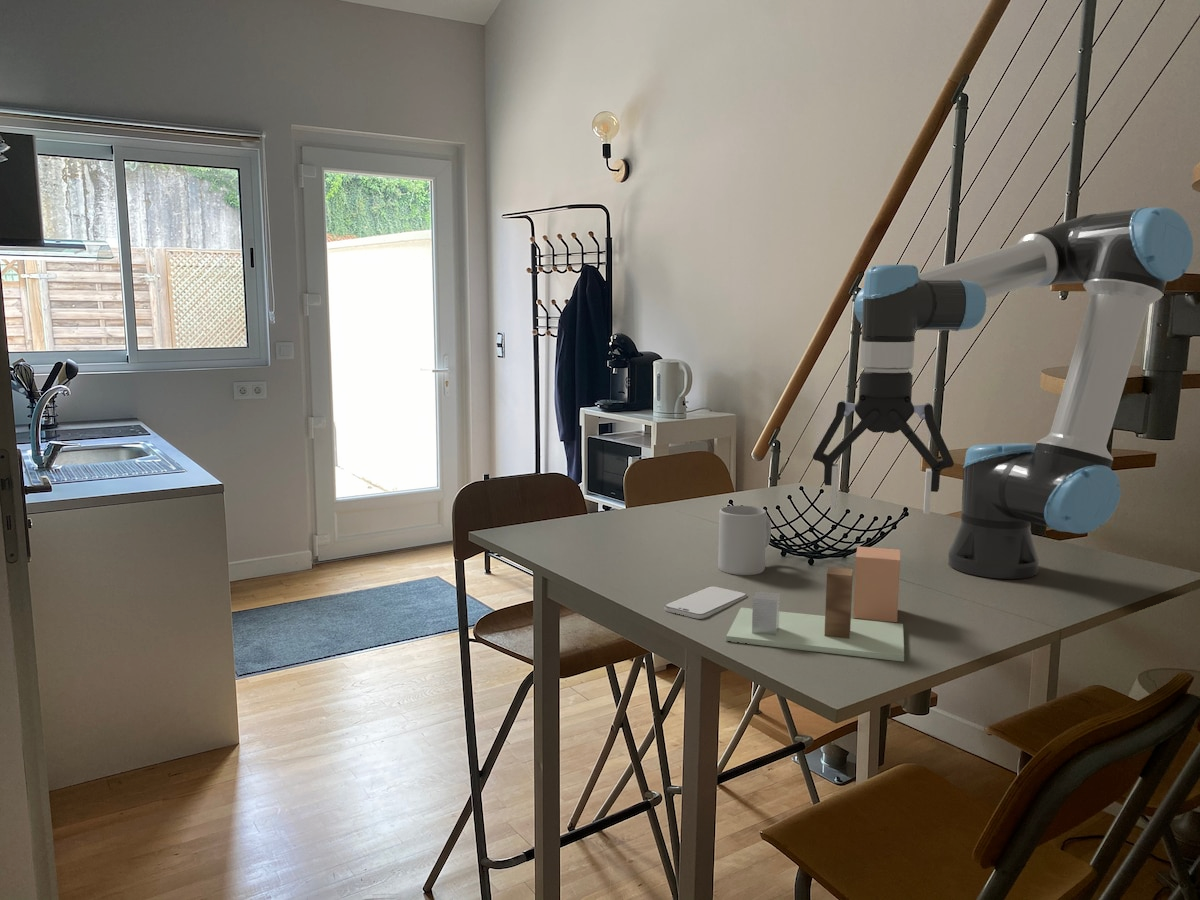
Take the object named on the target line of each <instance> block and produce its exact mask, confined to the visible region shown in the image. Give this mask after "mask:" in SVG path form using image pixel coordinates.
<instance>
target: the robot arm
mask: <svg viewBox="0 0 1200 900" xmlns="http://www.w3.org/2000/svg"><path fill="white" fill-rule="evenodd" d="M1192 234H1193V233H1192V231H1191V230H1190V228H1189V224H1188V222H1187V220H1186V219H1185V217H1183V215H1181V214H1180V212H1178V211H1177V210H1175V209H1172V208H1170V207H1164V206H1163V207H1161V206H1158V207H1147V206H1146V207H1144V206H1143V207H1139V208H1137V209H1128V210H1121V211H1120V210H1119V211H1111V212H1105V213H1103V212H1102V213H1095V214H1094V213H1093V214H1092V213H1091V214H1087V215H1083V216H1079V217H1075V218H1072V219H1070V220H1067V221H1063V222H1061V223H1058V224H1055V225H1052V226H1050V227H1047V228H1044V229H1042V230H1039V231H1036V232H1032V233H1029V234H1026V235H1024V236H1022V237H1021V238H1020V239H1019V240H1018V241H1017V243H1016V244H1013V245H1009V246H1005V247H1002V248H999V249H996V250H993V251H989V252H986V253H982V254H979V255H976V256H973V257H970V258H966V259H962V260H959V261H957V262H952V263H949V264H946V265H942V266H940V267H936V268H933V269H930V270H926V271H922V272H919V268H918V267H917V266H916V265H914V264H913V265H912V264H911V265H910V264H879V265H873V266H871V267H869V268H868V269H867V270H866V271H865V277H864V283H863V284H864V285H863V287H862V288H861V289H860V290H859V291H858V293H857V294H856V296H855V300H854V304H853V305H854V306H853V308H854V314H855V315H854V316H855V317H856V319H857V321H858V323H860V325H861V326H862V327H861V329H862V330H861V343H860V362H859V363H860V364H859V365H860V367H861V368H862V369H864V370H863V371H861V373H859V386H858V387H859V389H858V399H857V402H856V403H852V402H848V401H847V402H846V401H845V400H840V401H839V402H838V403H837V405H836V412H835V416H834V418H833V420H832V421H831V423H830V425H829V427H828V429H827V430H826V432H825V433H824V435H823V437H822V439H821V441H820V442H819V444H818V446H817V448H816V449H815V452H814V453H813V455H812V459H813V460H814V461H816V462H817V461H818V462H820V463H822V464H823V465H824V467H823V468H824V473H823V483H824V485H825V486H830V509H836V508H837V505H838V503H837V501H838V500H837V498H838V478H839V477H838V475H839V474H838V473H839V463H834V462H835V461H836V460H837V459H838V458H839V457H840V456H841V455H842V454H843V453H844V452H845V451H846V450H847V449H848V448H849V447H850V446H851V445H852V444H853V443H854V442H855V441H856V440H857V439H858V438H859V437H860V436H861V435H862V434H863V433H864V432H865V431H866V430H868V431H870V432H872V433H882V432H883V433H887V434H894V433H897V432H899V431H900V432H901V433H902V435H904V437H906V439H907V440H908V441H909V442H910V444H912V446H913V447H914V448H915V449H916V451H917V452H918V453H919V455H920V456H921V458H923V460H925V462H926V463H927V465H929V467H930V468H925V481H924V497H923V499H924V500H923V515H930V512H931V511H930V510H931V498H932V497H931V493H933V492H935V493H937V492H939V490H940V479H941V471H943V470H945V469H947V468H952V467H954V464H955V462H954V459H953V458H952V455H951V454H950V451H949V449H948V446H947V445H946V443H945V441H944V440H945V439H944V438H943V436H942V434H941V432H940V429H939V427H938V426H937V423H936V420H935V417H934V408H933V405H932V403H930V402H929V403H928V402H927V403H925V404H920V405H919V404H918V405H914V404H913V402H912V395H913V394H912V393H913V392H912V391H913V376H914V375H913V374H912V372H910V370H911V369H913V368H914V357H915V356H914V355H915V342H916V339H915V337H916V331H955V332H959V331H964V330H971V329H973V328H975V327H976V326H978V325H979V324H980V322H981V321H982V320H983V318H984V317H985V315H986V312H987V308H986V307H987V300H988V299H991V298H995V297H997V296H1000V295H1003V294H1005V293H1010V292H1013V291H1016V290H1019V289H1021V288H1025V287H1026V288H1027V287H1030V288H1033V289H1041V288H1044V287H1047V286H1051V285H1059V284H1061V285H1062V284H1083V285H1082V286H1083V288H1084V289H1085V291H1086V292H1087V294H1088V295H1089V300H1088V303H1087V307H1086V309H1085V312H1084V313H1085V314H1084V316H1083V319H1082V323H1081V327H1080V330H1079V333H1078V337H1077V340H1076V342H1075V343H1076V344H1075V347H1074V351H1073V353H1072V357H1071V361H1070V364H1069V367H1068V371H1067V374H1066V378H1065V381H1064V384H1063V387H1062V390H1061V394H1060V397H1059V401H1058V404H1057V408H1056V411H1055V413H1054V419H1053V421H1052V424H1051V425H1052V426H1051V428H1050V432H1049V434H1047V435H1046V436H1045V437H1042V438H1041V439H1039V440H1037V441H1036V444H1034V443H1027V442H1026V443H1025V442H1024V443H1023V442H1021V443H1019V442H1017V443H1014V442H1013V443H989V444H988V443H987V444H986V443H984V444H983V443H982V444H974V445H971V446H970V447H969V448H968V449H967V450H966V452H965V459H964V465H963V467H962V468H963V470H962V471H963V473H962V492H961V493H962V496H961V497H962V498H961V515H960V524H959V527H958V528H957V531H956V534H955V536H954V539H953V542H952V543H951V545H950V549H949V551H948V559H947V560H948V565H949V566H950V567H951V568H953V569H955V570H957V571H959V572H962V573H964V574H969V575H974V576H976V577H977V576H978V577H984V578H991V579H992V578H993V579H1002V580H1004V579H1006V580H1008V579H1010V580H1012V579H1015V580H1016V579H1018V580H1019V579H1027V578H1028V579H1029V578H1031V577H1034V575H1035V576H1037V575H1038V573H1039V557H1038V553H1037V549H1036V546H1035V543H1034V538H1033V535H1032V531H1031V527H1032V526H1031V524H1032V523H1033V524H1036V525H1039V526H1043V527H1046V528H1050V529H1052V530H1055V531H1058V532H1068V533H1071V534H1078V535H1080V534H1088V533H1091V532H1093V531H1096V530H1097V529H1098V528H1099V527H1102V526H1103V525H1104V524H1106V523H1107V522H1108V521H1109V519H1110V518H1111V517H1112V516H1113V515H1114V513H1115V511H1116V509H1117V508H1118V505H1119V502H1120V499H1121V494H1122V493H1121V492H1122V487H1121V486H1120V485H1119V484H1120V482H1121V481H1120V477H1119V476H1118V474H1117V473H1116V472H1115V471H1114V470H1112V469H1111V468H1112V466H1113V461H1114V457H1113V456H1112V455H1111V453H1110V451H1108V448H1107V445H1108V442H1109V438H1110V435H1111V432H1112V428H1113V425H1114V423H1115V419H1116V414H1117V412H1118V409H1119V405H1120V401H1121V398H1122V395H1123V392H1124V388H1125V384H1126V382H1127V379H1128V374H1129V372H1130V369H1131V364H1132V361H1133V359H1134V355H1135V352H1136V348H1137V344H1138V342H1139V338H1140V336H1141V332H1142V328H1143V324H1144V321H1145V317H1146V315H1147V311H1148V309H1149V308H1148V307H1149V306H1151V305H1152V304H1153V303H1155V302H1157V301H1159V300H1161V299H1162V298H1163V295H1164V291H1165V290H1166V289H1165V288H1166V285H1167V282H1173V281H1175V280H1177V279H1180V277H1182V275H1183V274H1185V273H1186V272H1187V271H1188V269H1189V267H1190V265H1191V263H1192V261H1193V260H1192V259H1193V255H1194V239H1193V235H1192ZM852 412H855V413H856V415H857V416H858V417H859V419H860V421H859V423H858V424H857V425H856V426H855V427H854V428H853V429H852V430H851V431H850V432H849V433H848V434H847V435H846V436H845V437H844V438H843V439H842V440H841V441H840V443H838V444H837V445H836V447H834V448H833V450H832V451H831V452H830V453H829V454H826V453H825V451H826V449H827V448H828V446H829V445H830V443H831V441H832V439H833V438H834V436H835V434H836V433H837V431H838V429H839V427H840V425H841V423H842V422H843V419H844V417H848V416H850V414H851V413H852ZM914 414H917V415H918V417H919V418H920V419H921V420H924V421H925V423H926V426H927V428H928V431H929V433H930V435H931V437H932V439H933V442H934V444H935V446H936V448H937V450H938V451H939V454H940V456H941V458H942V459H937V458H936V457H935V455H934V454H933V453H932V452H931V451H930V450H929V448H928V447H927V446H926V444H925V443H924V442H923V441H922V439H920V437H919V436H918V435H917V433H915V431H914V430H913V429H912V427H911V426H910V425H909V423H908V421H909V419H911V417H912V416H913V415H914Z"/></svg>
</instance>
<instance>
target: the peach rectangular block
mask: <svg viewBox="0 0 1200 900" xmlns="http://www.w3.org/2000/svg"><path fill="white" fill-rule="evenodd" d="M854 568H855V570H854V573H855V574H854V589H853V591H854V592H853V609H852V610H853V611H852V613H853V614H852V615H853V616H852V619H859V620H869V621H878V622H888V623H898V612H899V611H898V609H899V595H900V594H899V593H900V592H899V590H900V589H899V588H900V572H901V549H897V548H896V549H895V548H884V547H883V548H881V547H870V546H858V545H857V546H856V554H855V567H854Z"/></svg>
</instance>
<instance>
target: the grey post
mask: <svg viewBox="0 0 1200 900" xmlns="http://www.w3.org/2000/svg"><path fill="white" fill-rule="evenodd" d="M780 596H781V594H780V593H778V592H767V591H755V593H754V596H753V597H752V609H753V612H752V633H756V634H765V635H774V636H776V634H777V631H778V628H779V611H780V599H781V597H780Z"/></svg>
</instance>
